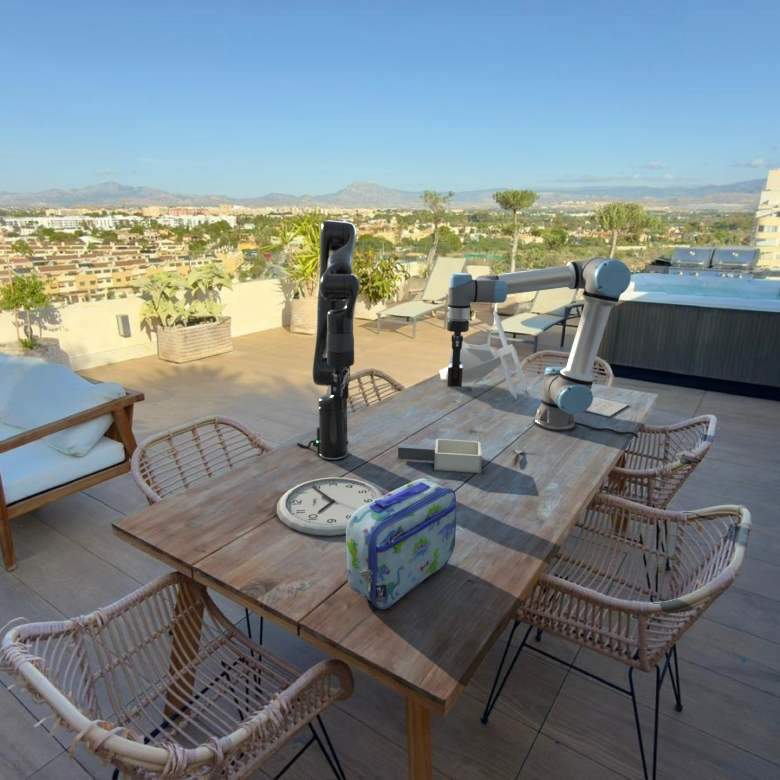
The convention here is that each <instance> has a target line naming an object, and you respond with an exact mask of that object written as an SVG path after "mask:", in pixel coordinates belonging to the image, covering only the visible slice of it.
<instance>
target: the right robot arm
mask: <svg viewBox="0 0 780 780" xmlns="http://www.w3.org/2000/svg"><path fill="white" fill-rule="evenodd" d="M631 280H632V275H631V270H630V269H629V267H628V266H627V264H626V263H624V262H623V261H621V260H619V259H616V258H610V257H602V256H595V257H590V258H586V259H581V260H577V261H576V260H575V261H569V262H568V263H567V264H566V265H561V266H553V267H547V268H539V269H538V268H537V269H530V270H523V271H516V272H515V271H514V272H508V273H500V274H494V275H478V276H477V277H475V278H474V279H473V275H472V274H471V273H464V272H455V273H451V274H450V276H449V282H448V293H447V294H448V297H447V298H448V299H447V309H445V312H446V313H447V318H448V319H447V321H446V330H447V331H448V332H450V333H453V334H451V350H452V349H453V357H452V367H450V369H452V372H451V387H450V388H460V387H459V370H460V364H461V362H460V350H461V349H462V342H463V340H464V335H462V333H467V332H468V331H469V329H470V320H469V319H471V317H470V316H471V314H470V313H471V303H486V304H487V303H488V304H489V303H491V304H501V303H502V304H503V303H505V302H506V300H507V297H508V296H509V295H515V294H522V293H523V294H524V293H530V292H531V293H532V292H539V291H547V290H556V289H564V288H567V289H569V290H577V289H578V290H583V292H582V297H583V300H584V305H583V308H582V312H581V315H580V319H579V322H578V326H577V329H576V333H575V335H574V339H573V343H572V346H571V348H570V352H569V356H568V359H567V363H566V366H548V367H546V368H545V370H544V374H543V381H542V382H543V384H542V394H541V402H540V405H539V407H538V408H537V410H536V413H535V416H534V424H535V425H536V426H537V427H539V428H542V429H544V430H549V431H556V432H567V431H572V430H574V429H575V428H576V425H577V426H580V427H583V428H586V429H590V430H594V431H597V432H598V431H599V432H609V433H610V432H611V433H613V434H616V435H632V436H634V437H635V438H637V439H639V438H640V436H639V435H638V434H637V433H635V432H633V431H618V430H615V429H612V428H608V427H595V426H592V425H589V424H586V423H582V422H578V421H576V418H575V417H576V416H575V415H581V414H582V413H584V412H587V411H586V410H587V409H588V408H589V407H590V406H591V404H592V401H593V398H594V395H593V391H592V387H593V384H594V380H595V378H594V377H593V376H592V371H593V368H594V365H595V361H596V358H597V354H598V352H599V349H600V346H601V342H602V339H603V336H604V332H605V329H606V326H607V323H608V320H609V317H610V313H611V310H612V307H613V306H615V305H617V304H618V303H619V302H620V301H619V300H620V297H621V295H622V294H623V293H625V292H626V291H627V289H628V288H629V287H630V284H631Z"/></svg>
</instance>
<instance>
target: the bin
mask: <svg viewBox="0 0 780 780" xmlns="http://www.w3.org/2000/svg"><path fill="white" fill-rule="evenodd" d="M482 451H483V450H482V441H479V440H463V439H448V438H435V445H425V444H424V445H423V444H422V445H421V444H407V443H404V444H403V443H399V444H398V447H397V459H398V460H412V461H426V462H434V465H433V469H434V471H441V472H442V471H445V472H457V473H458V472H459V473H460V472H461V473H472V474H482V464H483V452H482Z"/></svg>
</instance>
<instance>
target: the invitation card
mask: <svg viewBox="0 0 780 780" xmlns="http://www.w3.org/2000/svg"><path fill="white" fill-rule="evenodd" d="M628 406H629V404H627V403H623V402H618V401H614V400H609V399H605V398H601V397H596V396H593V401H592V404H591V406H590V407H589V408H588V409H587V410H586V411H585V412H587V413H593V414H596V415H600V416H604V417H608V418H609V417H611V416H613V415H614V414H616V413H617V412H619V411H621V410H623V409H624V408H626V407H628Z"/></svg>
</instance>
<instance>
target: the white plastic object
mask: <svg viewBox="0 0 780 780" xmlns="http://www.w3.org/2000/svg"><path fill="white" fill-rule="evenodd" d="M492 315H493V319H494V321H495V324H496V325H495V326H496V328H497V332H498V335H499V338H500V342H501V345H502V347H500V348H498V349H496V350H495V349H493V348H492V347H491V346H490V344H489V343H488V342H487V343H483V344H479V345H473V346H469V345H468V343H466V342H465V340H464V339H463V342H462V349H461V350H460V362H461V364H460V365H463V372H462V384H467V383H468V384H469V383H473V384H477V383H480V382H482V381H484V378H485V377H486V376H487V375H489V374H490V373H492V372H494V371H495V370H496V369H497V368H499V367H500V366H502V370H503V373H504V376H505V380H506V383H507V386H508V390H509V393H510V394H511V395H512V397H513V398H514V399H515V400H517V392H516V391H517V390H516V388H515V385H514V381H513V378H512V375H511V371H510V369H509V365H508V361H510V360H513V363H514V366H515V369H516V372H517V376H518V380H519V382H520V385H521V389H522V391H523V393H524V395H525V396H526V397H528V396H531V395H530V390H529V388H528V387H529V386H528V384H527V381H526V378H525V375H524V371H523V369H522V368H523V367H522V366H521V362H520V359H519V355H518V352H517V349H516V347H515V346H514V345H513V343H511V344H508V341H507V337H506V334H505V331H504V328H503V325H502V321H501V318H500V315H499V314H498V312H497V311H496V310H495V311H492ZM452 357H453V349H452V348H451V353H450V357H449V362H448V364H452ZM438 372H439V376H440V381H442V383H443V384H444V385H445V386H447V382H448V366H446V367H444V368H442V369H440V370H439V371H438Z"/></svg>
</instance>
